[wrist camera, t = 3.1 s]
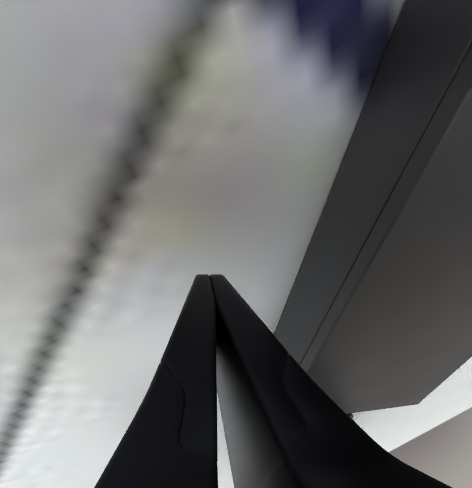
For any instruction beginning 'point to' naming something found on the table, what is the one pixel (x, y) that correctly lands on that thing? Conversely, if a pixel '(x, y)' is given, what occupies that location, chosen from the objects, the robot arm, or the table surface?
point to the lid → (396, 228)
